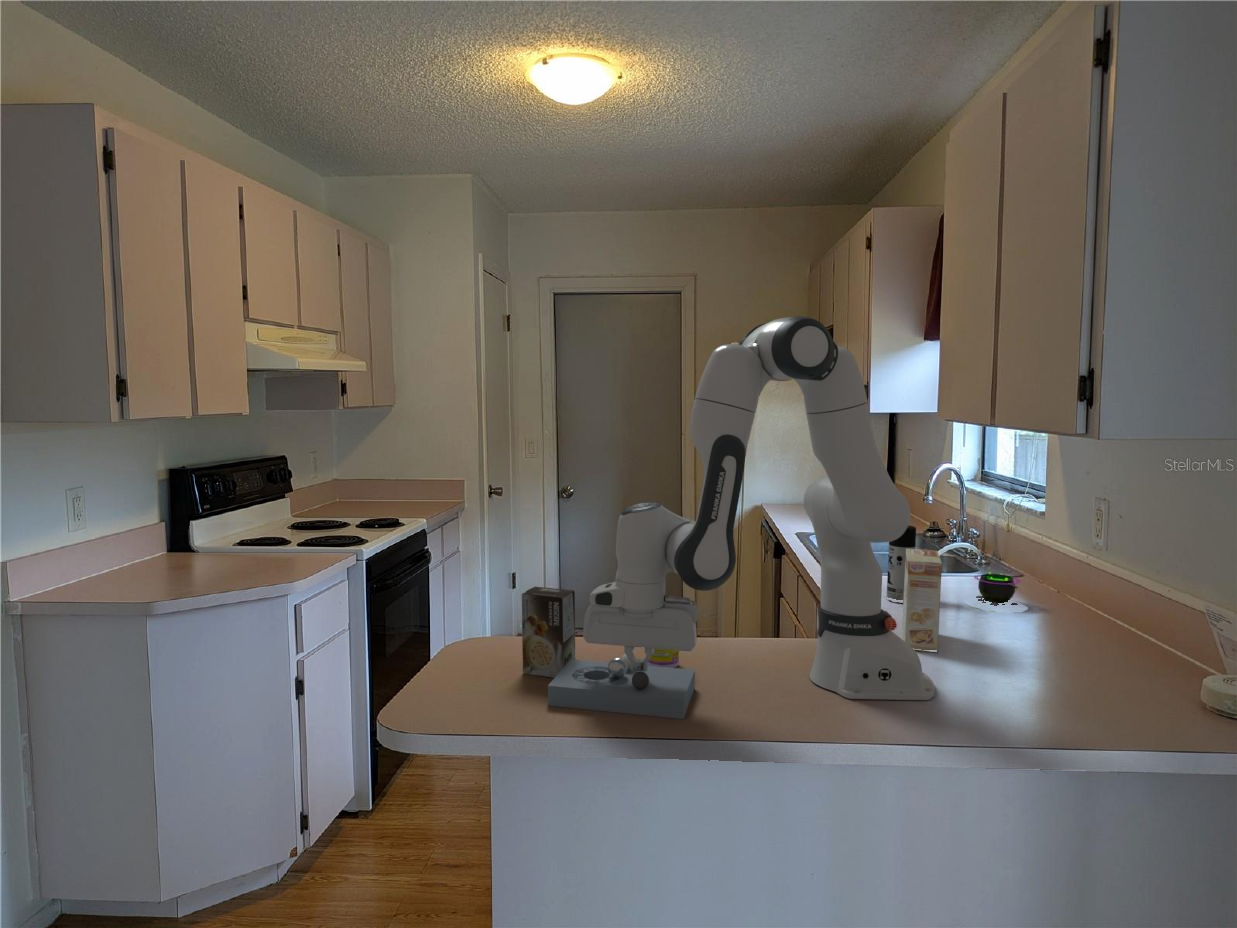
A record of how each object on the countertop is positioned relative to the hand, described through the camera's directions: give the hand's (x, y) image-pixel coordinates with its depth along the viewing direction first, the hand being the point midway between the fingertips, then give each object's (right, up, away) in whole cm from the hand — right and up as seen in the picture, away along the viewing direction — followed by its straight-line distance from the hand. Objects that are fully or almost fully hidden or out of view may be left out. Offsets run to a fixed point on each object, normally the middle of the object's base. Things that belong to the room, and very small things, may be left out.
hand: (639, 670), depth 139 cm
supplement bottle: (+5, -4, +18) cm, 19 cm away
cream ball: (-2, 0, +5) cm, 6 cm away
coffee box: (-17, -4, +14) cm, 23 cm away
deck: (-3, -5, +1) cm, 6 cm away
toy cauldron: (+95, 0, +64) cm, 115 cm away
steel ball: (-4, 0, +1) cm, 4 cm away
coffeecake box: (+63, -3, +34) cm, 72 cm away
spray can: (+71, 0, +68) cm, 99 cm away
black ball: (0, -1, -4) cm, 4 cm away
